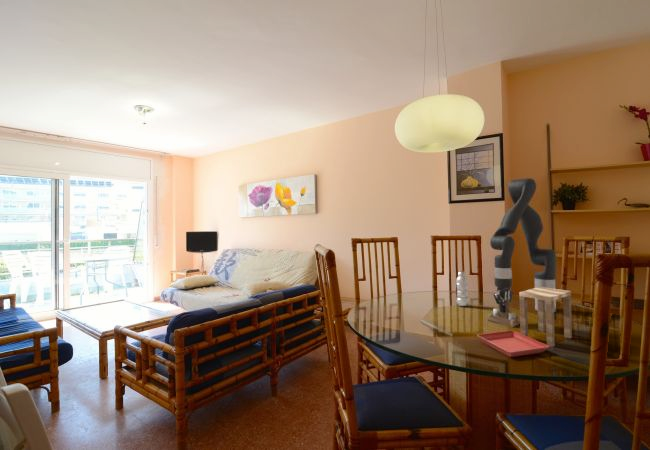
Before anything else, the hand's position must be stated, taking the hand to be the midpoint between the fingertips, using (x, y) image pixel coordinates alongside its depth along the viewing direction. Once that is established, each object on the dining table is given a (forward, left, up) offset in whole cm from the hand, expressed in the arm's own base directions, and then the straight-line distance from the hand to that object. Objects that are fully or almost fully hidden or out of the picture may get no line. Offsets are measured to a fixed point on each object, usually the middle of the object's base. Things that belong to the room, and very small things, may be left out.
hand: (504, 312), depth 156 cm
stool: (+6, +21, -5) cm, 22 cm away
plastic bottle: (-10, -30, -5) cm, 32 cm away
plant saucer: (+27, +18, -6) cm, 33 cm away
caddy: (0, 0, -5) cm, 5 cm away
